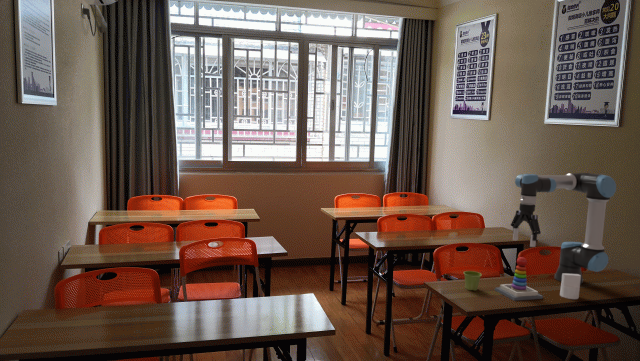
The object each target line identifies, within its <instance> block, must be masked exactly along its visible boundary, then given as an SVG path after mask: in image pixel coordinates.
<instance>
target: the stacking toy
mask: <svg viewBox="0 0 640 361" xmlns="http://www.w3.org/2000/svg"><path fill="white" fill-rule="evenodd" d="M516 264H517V265H516V266H515V268H516V269H515V271H514V272H515V273H514V276H513V280H512V283H511V284H512V287H511V289H512V290H514V291H516V292H526V291H527V290H526V288H527V287H528V286H527V285H528V283H527V281H528V279H527V271H526V270H527V267H526V266H527V264H528V259H527V258H526V257H524V256H519V257H517V259H516ZM526 286H527V287H526Z"/></svg>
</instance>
